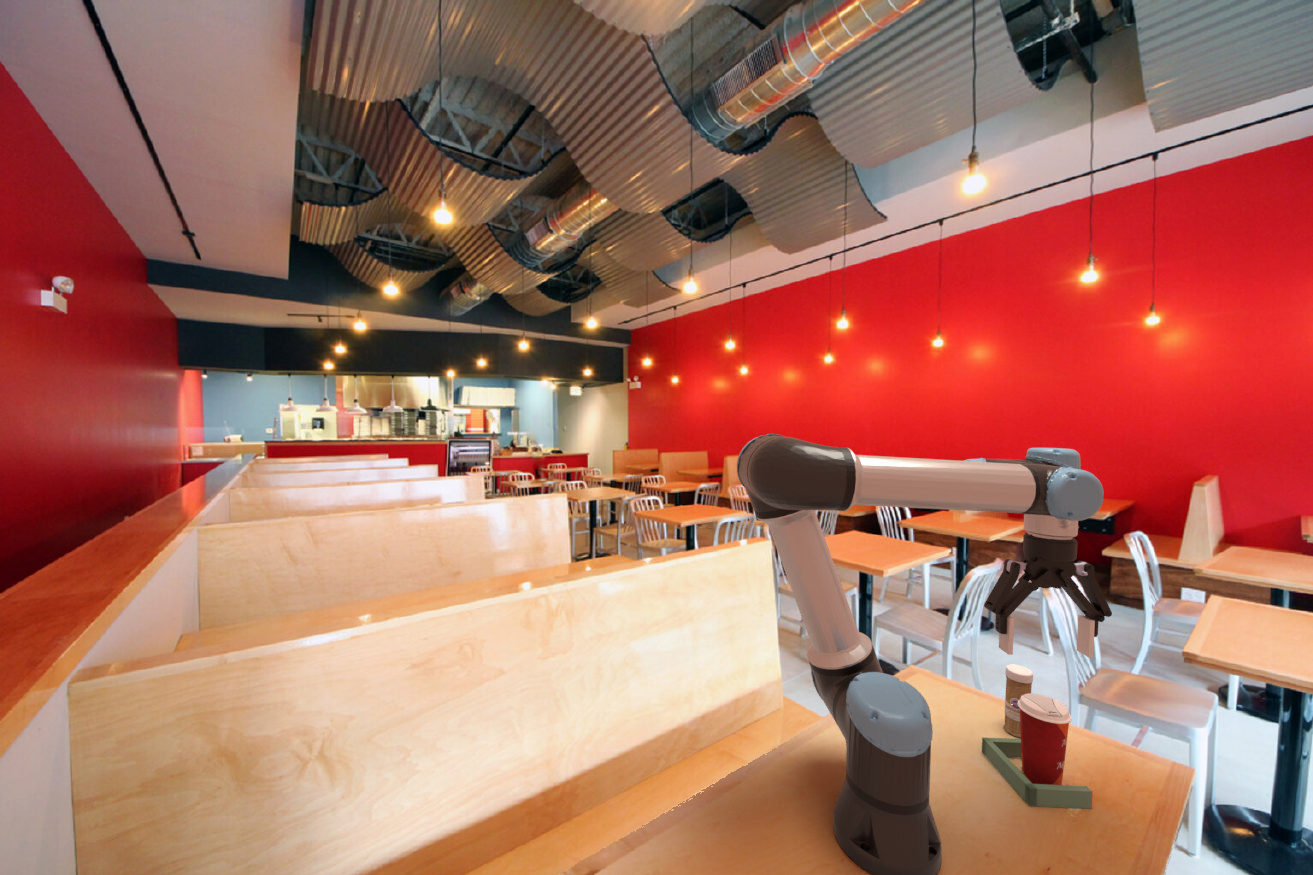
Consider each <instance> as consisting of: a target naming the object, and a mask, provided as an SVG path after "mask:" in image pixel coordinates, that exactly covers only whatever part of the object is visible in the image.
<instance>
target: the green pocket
mask: <svg viewBox="0 0 1313 875" xmlns="http://www.w3.org/2000/svg"><path fill="white" fill-rule="evenodd" d="M981 741H982V742H981V753H982V754H983V755H984V757H985V758H986V759H987V760H988V762H990V763H991V764H992V765H993V767H994V768H995V769H996V771H998V773H999V774H1000V775H1001V776H1002V778H1004V779H1005V781H1007V782H1008V784H1009V785H1010V786H1011V787H1012V788H1013V790H1014V791H1015V792H1017V794H1018V795H1019V797H1021V799H1022V800H1023V801H1024V802H1025V803H1026V804H1027V805H1028V806H1029V807H1041V808H1042V807H1043V808H1060V809H1061V808H1063V809H1064V808H1065V809H1083V810H1084V809H1085V810H1092V809H1093V806H1092V805H1093V791H1092V789H1091V788H1089V787H1088V786H1087V785H1071V784H1069V785H1068V784H1063V785H1062V784H1061V785H1048V784H1032V783H1031V782H1030V781H1029V780H1028V779H1027V778H1026V777H1025V775H1024V774H1023V772H1022V771H1021V770H1020V769H1019V768H1018V767H1017V766H1016V765H1015V764H1014V762H1013V761H1011V760H1010V758H1013V759H1022V757H1021V738H1007V737H984V736H983V737H981Z"/></svg>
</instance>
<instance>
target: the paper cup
mask: <svg viewBox="0 0 1313 875" xmlns="http://www.w3.org/2000/svg"><path fill="white" fill-rule="evenodd" d="M1018 706H1019V708H1020V732H1021V738H1020V739H1021V757H1022V758H1021V770H1022V771H1021V772H1022V773H1023V774H1024V775H1025V777H1026V778H1027V779H1028V780H1029V781H1030V782H1031V783H1032V784H1048V785H1062V783H1063V776H1064V770H1065V761H1066V753H1067V742H1068V734H1069V725H1070V723H1071V722H1072V719H1073V718H1072V715H1071V714H1070V711H1069V709H1068V707H1067V705H1065V704H1064V703H1062V702H1060V701H1059V700H1057V699H1055V698H1053V697H1050V696H1046V695H1043V694H1039V693H1031V694H1024V695H1022V696H1021V698H1020V700H1019V701H1018Z"/></svg>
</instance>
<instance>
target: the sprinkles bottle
mask: <svg viewBox="0 0 1313 875" xmlns="http://www.w3.org/2000/svg"><path fill="white" fill-rule="evenodd" d="M1005 677H1006V680H1005V696H1004V697H1005V699H1004V724H1003V729H1004V730H1005V731H1006V732H1007V733H1008V734H1010V735H1012V736H1014V737H1017V738H1018V739H1021V732H1020V708H1019V706H1018V701H1019V700H1020V698H1021V696H1022V695H1024V694H1032V684H1033V682H1034V673H1033V671H1032V670H1031V669H1029V668H1027V667H1025V666H1023V665H1020V664H1015V663H1014V664H1007V665H1006V667H1005ZM1011 704H1013V705H1011Z"/></svg>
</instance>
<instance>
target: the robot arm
mask: <svg viewBox="0 0 1313 875" xmlns="http://www.w3.org/2000/svg"><path fill="white" fill-rule="evenodd" d="M740 450H741V451H740V452H739V454H738V457H737V461H736V473H737V477H738V481H739V482H740V484H741V485H742V487H744V488H745V491H746V493H747V495H748V499H749V501H750V503H751V507H752V508H753V512H754V515H755V518H756V519H757V520H758V521H760V522H762V523H764V524H766V525H767V526H768V528H769V532H770V533H771V537H772V540H773V542H774V545H775V547H776V550H777V553H778V556H779V559H780V561H781V564H782V567H783V570H784V572H785V574H786V578H787V581H788V584H789V586H790V588H791V591H792V594H793V597H794V600H795V602H796V606H797V607H798V610H799V613H800V616H801V618H802V621H803V624H804V628H805V630H806V633H807V635H808V636H807V637H808V638H809V640H810V645H809V647H808V648H807V651H806V656H807V660H808V662H809V666H810V673H811V679H812V683H813V686H814V689H815V692H817V694H818V696H819V698H820V699H821V700H822V701H823V703H824V704H825V706H826V708H827V710H828V712H829V713H830V715H831V717H832V718H833V721H834V722H835V723H836V725H837V727H838V729H839V730H840V733H841V734H842V736H843V738H844V741H845V745H846V755H845V756H846V757H845V773H846V774H845V779H844V782H843V784H842V786H841V788H840V792H839V794H838V795H837V796H838V797H837V799H836V801H835V804H834V807H833V812H832V813H833V816H832V817H833V820H832V823H833V824H832V828H833V833H834V837H835V839H836V841H837V843H838V845H839V846H840V848H841V849H842V850H843V851H844V853H845V854H846V855H847V856H848V857H849V859H851V860H852V861H853V862H854V863H855V864H857V865H858V866H859V867H860V868H862V869H863V870H865V871H866V872H868V873H869V874H872V875H937V874H938V873H939V872H940V869H941V866H942V841H941V840H942V839H941V837H940V833H939V830H938V828H937V827H938V826H937V824H936V820H935V818H934V817H935V816H934V814H933V811H932V808H931V805H930V786H931V785H930V784H931V782H930V781H931V759H932V758H931V754H932V752H931V751H932V749H931V748H932V740H933V733H934V732H933V723H932V716H931V709H930V706H929V704H928V702H927V701H926V699H925V697H924V695H922V693H921V692H920V691H919V690H918V689H917V688H916V687H915V686H913V685H911V683H909V682H907V681H905V680H903V681H901V680H900V679H899V677H897V676H894V675H892V674H888V673H884V671H883V669H882V667H881V664H880V661H879V658H878V656H877V653H876V651H875V648H874V645H873V643H872V640H871V638H870V637H869V636H867V634H865V633H863V632H860V631H859V630H858V627H857V624H856V621H855V619H854V614H853V612H852V609H851V608H850V604H849V602H848V599H847V596H846V593H845V591H844V587H843V585H842V583H841V582H842V581H841V580H840V579H841V578H840V577H839V574H838V571H837V569H836V566H835V563H834V559H833V557H832V555H831V552H830V549H829V545H828V543H827V541H826V540H827V539H826V538H825V535H824V532H823V529H822V527H821V524H820V521H819V519H818V515H817V512H816V511H838V512H839V511H840V512H846V511H849V510H850V509H851V508H852V507H853V506H855V505H856V506H869V507H870V506H874V507H892V508H893V507H894V508H908V509H909V508H910V509H930V510H932V509H933V510H950V511H952V510H953V511H970V512H987V513H988V512H990V513H993V512H994V513H1008V514H1009V513H1010V514H1012V513H1013V514H1023V530H1024V531H1026V532H1024V534H1023V538H1022V539H1023V540H1022V543H1023V544H1022V553H1023V556H1024V558H1023V561H1014V560H1012V559H1010V558H1006V559H1005V560H1004V563H1003V570H1002V572H1001V574H1000V575H999V578H998V579H997V581H996V582H995V584H994V586H993V588H992V590H991V592H990V593H989V594H988V597H987V599H986V600H985V601H984V604H983V606H984V608H985V609H987V610H988V611H989V612H991V613H993V614H995V620H994V621H995V622H994V624H995V626H994V628H995V631H996V632H998V648H999V649H1000V650H1002V651H1003V652H1004V653H1006V654H1007V655H1010V656H1011V655H1014V636H1015V635H1014V632H1015V631H1014V630H1015V629H1014V628H1015V618H1014V617H1012V616H1011V615H1012V613H1014V611H1015V610H1016V609H1018V608H1019V606H1020V605H1022V603H1023V602H1024V601H1025V600H1026V599H1027V598H1028V597H1029V596H1030V595H1031V594H1032V593H1033V592H1035V591H1037V590H1039V589H1040V588H1042V589H1050V588H1053V589H1055V590H1057V589H1058V590H1059V589H1060V590H1061V589H1063V590H1064V592H1065V593H1066V594H1067V596H1068V597H1069V598H1070V599H1071V600H1072V601H1073V603H1074V604H1075V605H1076V606H1077V607H1078V609H1079V610H1080V611H1081V612H1082V613H1083V614H1077V628H1076V630H1077V632H1076V633H1077V634H1076V635H1077V636H1076V651H1077V652H1079V653H1081V654H1082V655H1084V656H1085V657H1088V658H1094V648H1095V646H1094V645H1095V638H1097V637H1098V635H1099V622H1100V623H1103V622H1104V621H1105V619H1106V618H1109V617H1110V618H1111V616H1112V615H1113V613H1112V612H1113V611H1112V610H1111V608H1110V605H1109V603H1108V601H1107V600H1106V597H1105V595H1104V593H1103V591H1102V589H1101V587H1100V584H1099V583H1098V580H1097V578H1096V576H1095V573H1096V572H1095V566H1094V565H1093V564H1090V563H1088V562H1086V561H1082V560H1078V561H1076V560H1077V559H1078V558H1077V556H1078V541H1077V540H1076V538H1075V537H1077V536H1078V534H1079V533H1078V532H1079V521H1080V522H1081V521H1084V520H1085V521H1086V520H1088V519H1089V518H1092V517H1094V515H1096V514H1097V513H1098V512H1099V511H1100V509H1101V508H1102V505H1103V502H1104V494H1105V492H1104V488H1103V484H1102V483H1101V481H1100V480H1099V479H1098V478H1097V476H1095V474H1093V473H1092V472H1090V471H1087V470H1084V469H1082V462H1081V454H1080V453H1079V451H1077V450H1076V449H1073V448H1064V447H1063V448H1062V447H1059V448H1058V447H1030V448H1028V449H1027V451H1026V456H1025V458H1021V459H1020V458H1019V459H1018V458H1017V459H1013V458H1012V459H1011V458H985V457H984V458H983V457H980V458H967V459H965V460H954V459H953V460H952V459H937V458H936V459H935V458H919V457H918V458H917V457H905V456H904V457H902V456H901V457H899V456H886V455H885V456H884V455H883V456H882V455H865V454H856V453H854V451H853V450H852V449H851V448H849V447H844V446H841V447H839V446H830V445H824V444H821V443H820V444H818V443H814V442H810V441H807V440H803V439H799V438H795V437H792V436H784V435H781V434H778V433H776V434H775V433H767V434H763V435H760V436H757V437H754V438H752V439H751V440H749V441H748V442H747V443H746V444H745V445H744V446H743V447H742V449H740ZM1075 561H1076V562H1075ZM1023 572H1024V573H1023ZM1021 574H1022V575H1021ZM1074 574H1077V578H1078V580H1079V582H1080V583H1081V586H1082V588H1083V590H1084V592H1085V594H1086V595H1084V594H1083V592H1082V591H1081V589H1079V586H1078V584H1077V583H1076V582H1075V581H1074V580H1073V578H1072V577H1073V576H1074ZM1020 575H1021V576H1020ZM1017 581H1018V582H1017Z"/></svg>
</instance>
